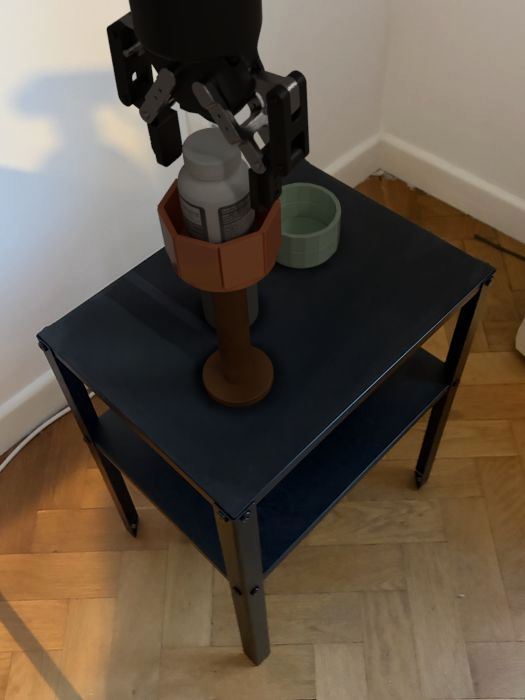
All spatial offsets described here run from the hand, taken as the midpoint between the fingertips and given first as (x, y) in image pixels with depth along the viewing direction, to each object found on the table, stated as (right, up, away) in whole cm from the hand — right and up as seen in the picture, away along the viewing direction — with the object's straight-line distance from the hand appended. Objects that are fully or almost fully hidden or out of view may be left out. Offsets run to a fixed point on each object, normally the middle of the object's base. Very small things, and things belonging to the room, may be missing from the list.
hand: (216, 181), depth 52 cm
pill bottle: (0, -4, +5) cm, 7 cm away
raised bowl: (0, -4, +6) cm, 7 cm away
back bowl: (+8, 0, +31) cm, 32 cm away
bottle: (0, -8, +25) cm, 27 cm away
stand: (+1, -15, +20) cm, 25 cm away
